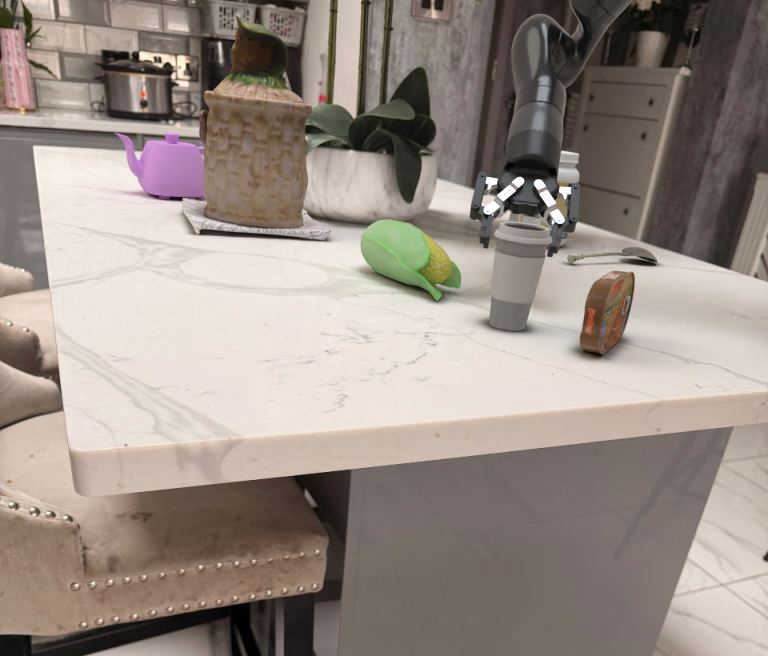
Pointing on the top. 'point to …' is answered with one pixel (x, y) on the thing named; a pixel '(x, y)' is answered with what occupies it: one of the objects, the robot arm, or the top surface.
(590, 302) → the tin
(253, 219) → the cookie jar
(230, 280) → the top surface
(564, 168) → the supplement tub
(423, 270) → the corn
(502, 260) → the cup
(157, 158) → the teapot
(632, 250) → the soupspoon
